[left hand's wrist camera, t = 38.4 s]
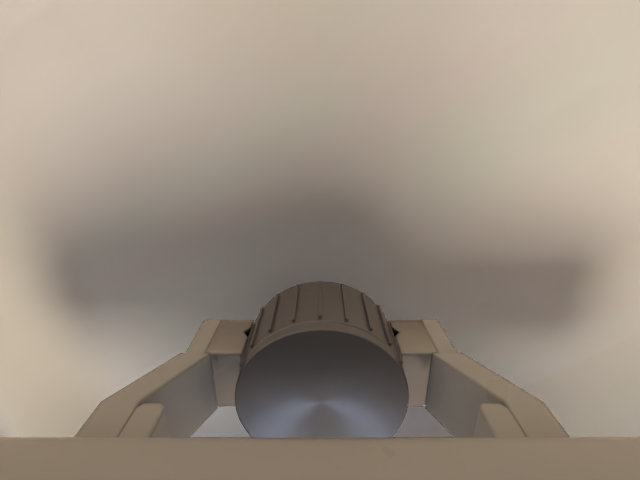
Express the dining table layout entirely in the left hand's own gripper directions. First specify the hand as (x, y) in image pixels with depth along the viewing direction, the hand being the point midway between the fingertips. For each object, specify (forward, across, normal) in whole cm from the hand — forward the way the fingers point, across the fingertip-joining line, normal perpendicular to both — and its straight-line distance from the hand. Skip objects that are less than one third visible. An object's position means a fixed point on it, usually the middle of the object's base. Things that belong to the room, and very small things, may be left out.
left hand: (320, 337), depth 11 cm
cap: (-2, 0, 0) cm, 2 cm away
